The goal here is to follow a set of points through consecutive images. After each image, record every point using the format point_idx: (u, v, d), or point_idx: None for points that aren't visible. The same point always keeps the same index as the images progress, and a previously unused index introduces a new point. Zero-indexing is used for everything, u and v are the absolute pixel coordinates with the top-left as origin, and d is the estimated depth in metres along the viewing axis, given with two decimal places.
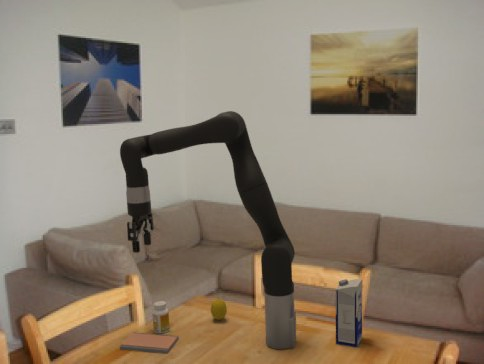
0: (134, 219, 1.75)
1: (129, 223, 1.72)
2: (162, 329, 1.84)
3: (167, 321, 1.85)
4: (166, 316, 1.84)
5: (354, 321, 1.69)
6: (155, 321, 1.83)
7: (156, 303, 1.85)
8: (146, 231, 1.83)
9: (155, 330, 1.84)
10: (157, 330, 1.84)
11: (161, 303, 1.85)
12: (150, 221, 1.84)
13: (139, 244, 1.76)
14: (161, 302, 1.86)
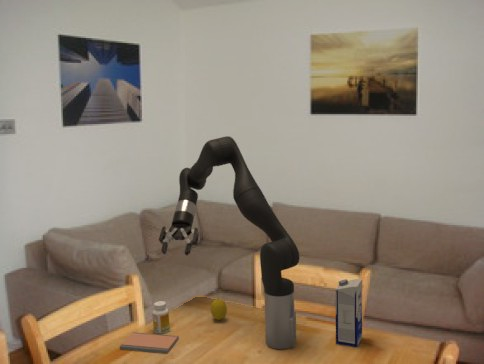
0: None
1: None
2: (162, 329, 1.84)
3: (167, 321, 1.85)
4: (166, 316, 1.84)
5: (354, 321, 1.69)
6: (155, 321, 1.83)
7: (156, 303, 1.85)
8: None
9: (155, 330, 1.84)
10: (157, 330, 1.84)
11: (161, 303, 1.85)
12: None
13: (165, 245, 1.99)
14: (161, 302, 1.86)
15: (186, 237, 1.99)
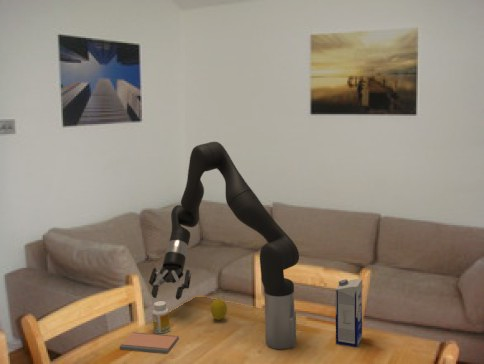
0: None
1: None
2: (162, 329, 1.84)
3: (167, 321, 1.85)
4: (166, 316, 1.84)
5: (354, 321, 1.69)
6: (155, 321, 1.83)
7: (156, 303, 1.85)
8: None
9: (155, 330, 1.84)
10: (157, 330, 1.84)
11: (161, 303, 1.85)
12: None
13: (155, 289, 1.91)
14: (161, 302, 1.86)
15: (177, 280, 1.91)
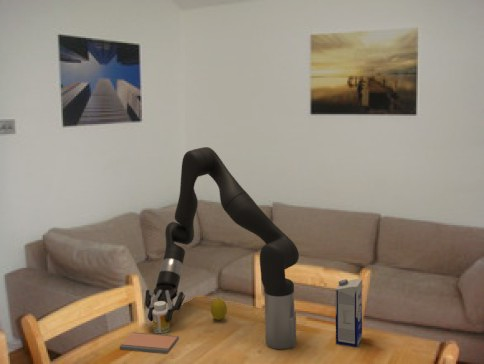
0: None
1: None
2: (162, 329, 1.84)
3: None
4: None
5: (354, 321, 1.69)
6: (155, 321, 1.83)
7: (156, 303, 1.85)
8: None
9: (155, 330, 1.84)
10: (157, 330, 1.84)
11: (161, 303, 1.85)
12: None
13: None
14: (161, 302, 1.86)
15: (169, 302, 1.86)
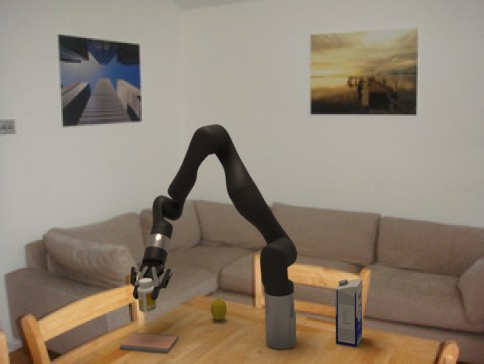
0: None
1: None
2: (147, 307, 1.72)
3: None
4: None
5: (354, 321, 1.69)
6: (141, 299, 1.72)
7: (141, 280, 1.73)
8: None
9: (140, 309, 1.73)
10: (142, 309, 1.72)
11: (147, 280, 1.73)
12: None
13: (137, 289, 1.74)
14: (147, 279, 1.74)
15: (155, 279, 1.74)
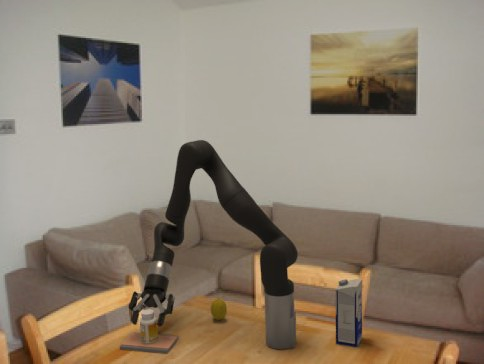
0: None
1: None
2: (150, 339, 1.74)
3: (155, 330, 1.75)
4: (154, 325, 1.74)
5: (354, 321, 1.69)
6: (143, 331, 1.74)
7: (144, 312, 1.75)
8: None
9: (143, 340, 1.75)
10: (145, 340, 1.74)
11: (149, 312, 1.75)
12: None
13: (135, 315, 1.76)
14: (149, 310, 1.76)
15: (159, 305, 1.76)
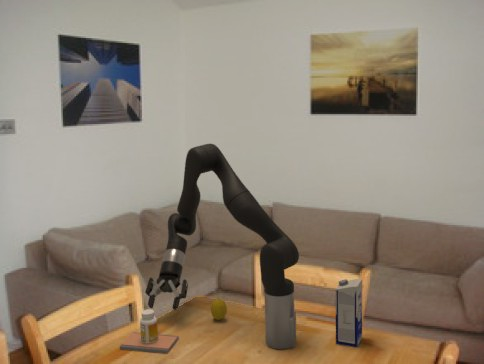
0: None
1: None
2: (150, 339, 1.74)
3: (155, 330, 1.75)
4: (154, 325, 1.74)
5: (354, 321, 1.69)
6: (143, 331, 1.74)
7: (144, 312, 1.75)
8: None
9: (143, 340, 1.75)
10: (145, 340, 1.74)
11: (149, 311, 1.75)
12: None
13: (152, 299, 1.88)
14: (149, 310, 1.76)
15: (174, 290, 1.88)
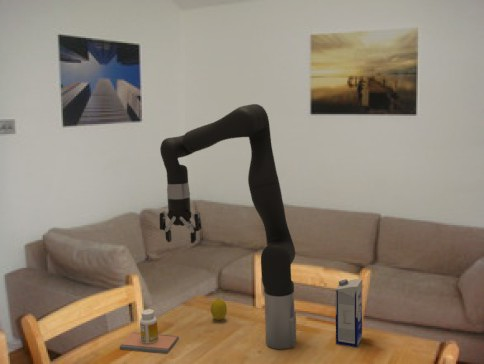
0: None
1: None
2: (150, 339, 1.74)
3: (155, 330, 1.75)
4: (154, 325, 1.74)
5: (354, 321, 1.69)
6: (143, 331, 1.74)
7: (144, 312, 1.75)
8: None
9: (143, 340, 1.75)
10: (145, 340, 1.74)
11: (149, 311, 1.75)
12: None
13: (168, 235, 1.89)
14: (149, 310, 1.76)
15: (188, 226, 1.86)
